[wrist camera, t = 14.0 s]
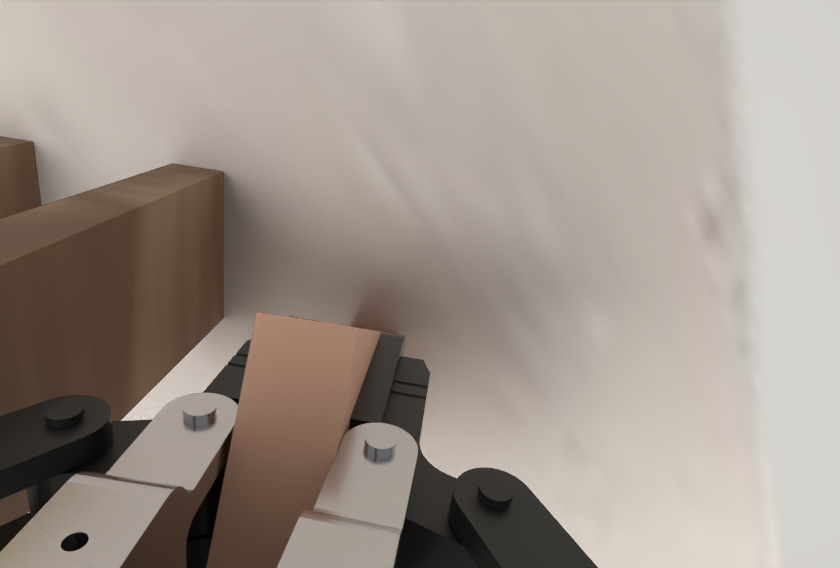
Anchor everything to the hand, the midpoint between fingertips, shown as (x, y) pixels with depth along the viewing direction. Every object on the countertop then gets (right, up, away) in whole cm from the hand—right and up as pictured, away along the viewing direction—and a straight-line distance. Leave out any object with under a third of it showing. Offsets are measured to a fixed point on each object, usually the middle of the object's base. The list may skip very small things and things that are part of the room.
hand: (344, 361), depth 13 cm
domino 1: (-5, +3, +5) cm, 8 cm away
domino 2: (0, -2, +5) cm, 6 cm away
